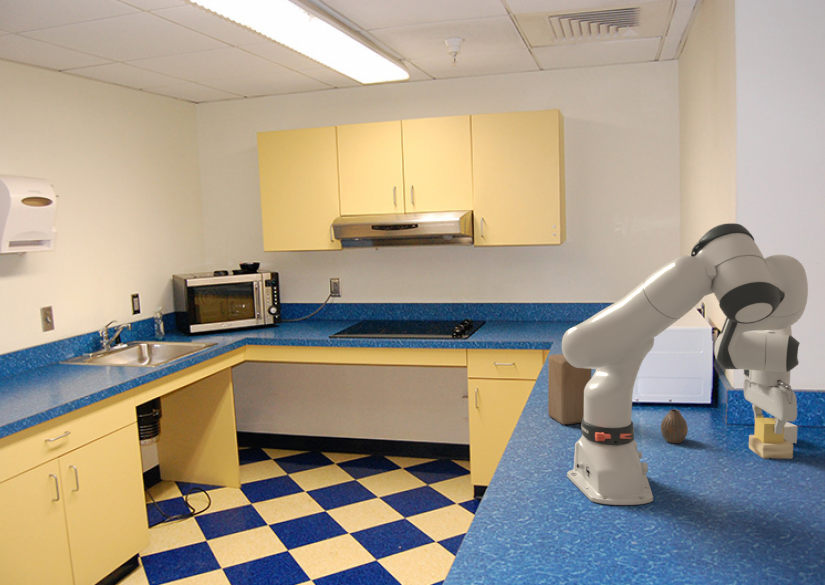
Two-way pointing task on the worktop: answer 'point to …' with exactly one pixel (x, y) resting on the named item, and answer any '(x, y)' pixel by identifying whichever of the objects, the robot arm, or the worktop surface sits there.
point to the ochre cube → (767, 431)
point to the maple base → (771, 448)
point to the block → (566, 390)
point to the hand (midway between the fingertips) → (767, 427)
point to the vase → (674, 427)
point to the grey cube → (790, 432)
